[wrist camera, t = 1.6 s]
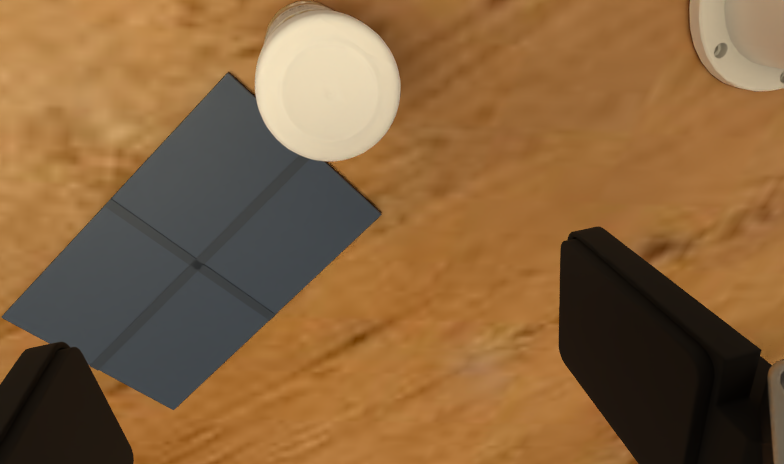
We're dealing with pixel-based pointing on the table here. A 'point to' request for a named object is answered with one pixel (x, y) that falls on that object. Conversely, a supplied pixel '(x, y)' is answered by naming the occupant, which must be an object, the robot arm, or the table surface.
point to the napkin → (194, 251)
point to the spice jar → (325, 82)
